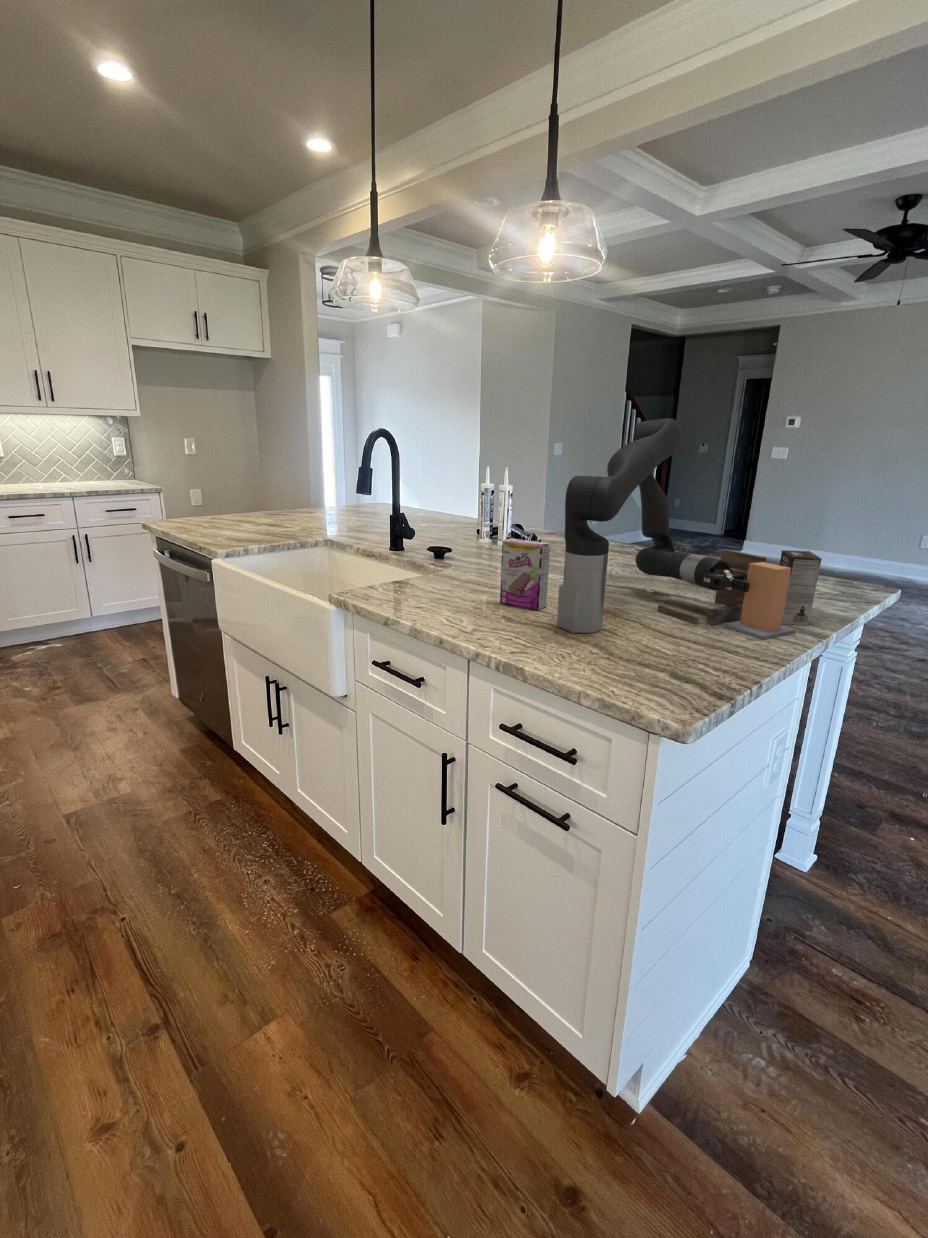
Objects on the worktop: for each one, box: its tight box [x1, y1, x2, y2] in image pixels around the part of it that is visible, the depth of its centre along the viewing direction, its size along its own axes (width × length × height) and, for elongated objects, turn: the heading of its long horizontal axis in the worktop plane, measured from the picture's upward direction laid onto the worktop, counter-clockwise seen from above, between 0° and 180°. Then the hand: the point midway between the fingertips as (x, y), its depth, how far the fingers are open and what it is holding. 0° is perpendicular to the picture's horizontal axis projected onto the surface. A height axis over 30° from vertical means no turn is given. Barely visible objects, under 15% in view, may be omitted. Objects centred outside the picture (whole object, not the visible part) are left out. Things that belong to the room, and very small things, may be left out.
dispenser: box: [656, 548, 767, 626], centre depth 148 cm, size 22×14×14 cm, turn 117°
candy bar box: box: [499, 538, 551, 611], centre depth 151 cm, size 11×5×16 cm, turn 58°
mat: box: [723, 620, 797, 640], centre depth 137 cm, size 11×10×1 cm
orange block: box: [739, 561, 791, 632], centre depth 135 cm, size 4×7×14 cm, turn 27°
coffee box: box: [779, 549, 823, 627], centre depth 143 cm, size 9×6×16 cm
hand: (761, 585), depth 135 cm, fingers open, 8 cm apart
